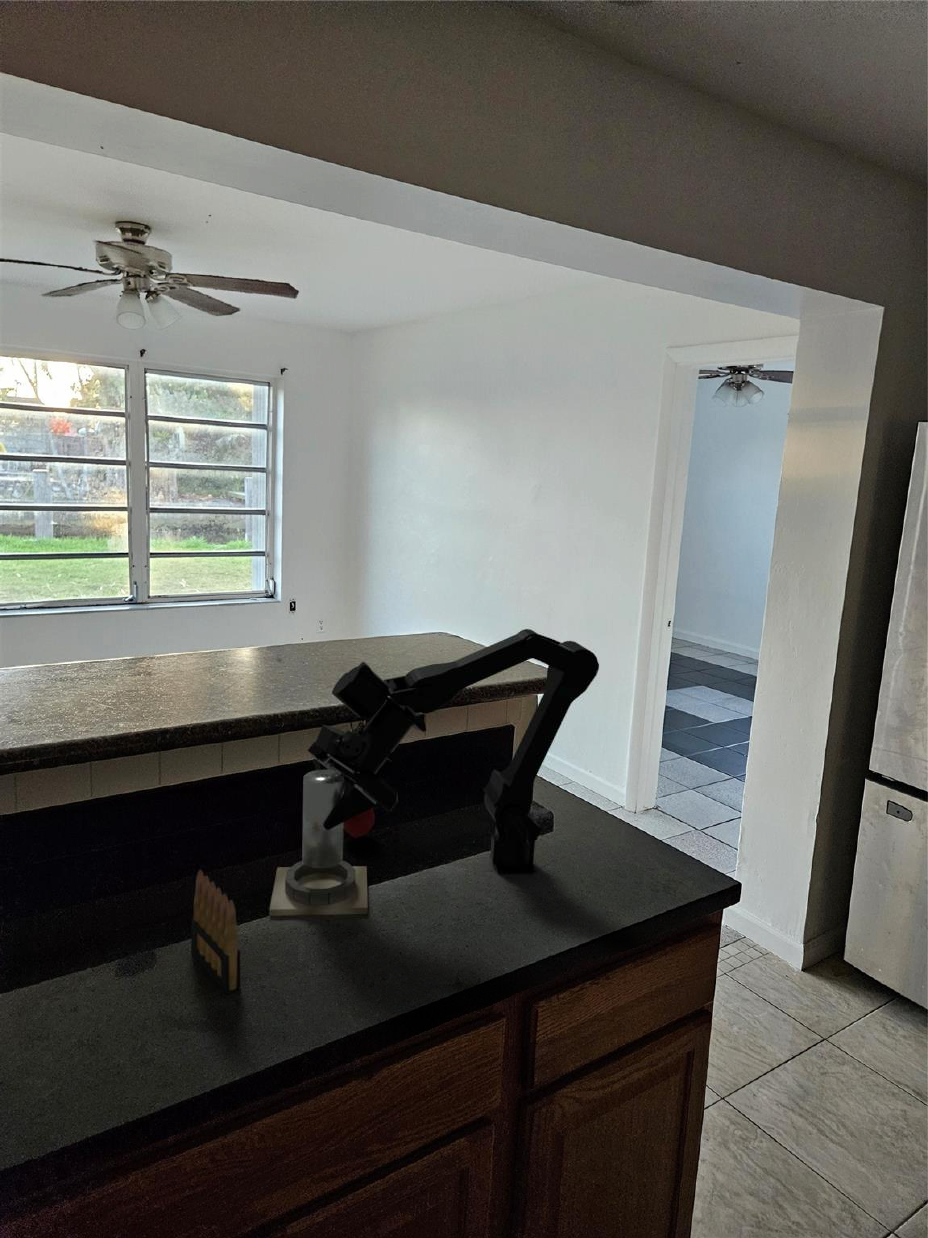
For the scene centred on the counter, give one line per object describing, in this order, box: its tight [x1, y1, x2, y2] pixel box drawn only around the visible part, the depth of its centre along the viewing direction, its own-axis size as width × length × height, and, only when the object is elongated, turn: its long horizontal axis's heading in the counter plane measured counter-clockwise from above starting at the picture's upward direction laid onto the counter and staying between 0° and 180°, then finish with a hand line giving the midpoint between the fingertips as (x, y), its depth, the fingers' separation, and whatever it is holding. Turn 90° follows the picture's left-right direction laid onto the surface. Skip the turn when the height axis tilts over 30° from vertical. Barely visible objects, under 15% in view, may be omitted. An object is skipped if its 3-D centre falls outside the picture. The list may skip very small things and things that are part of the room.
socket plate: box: [268, 860, 368, 917], centre depth 119 cm, size 14×12×3 cm
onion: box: [343, 808, 376, 839], centre depth 137 cm, size 6×6×8 cm
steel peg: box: [301, 770, 346, 869], centre depth 117 cm, size 6×6×13 cm
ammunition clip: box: [190, 869, 241, 995], centre depth 99 cm, size 11×2×12 cm, turn 42°
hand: (315, 820), depth 116 cm, fingers closed on steel peg, 6 cm apart
